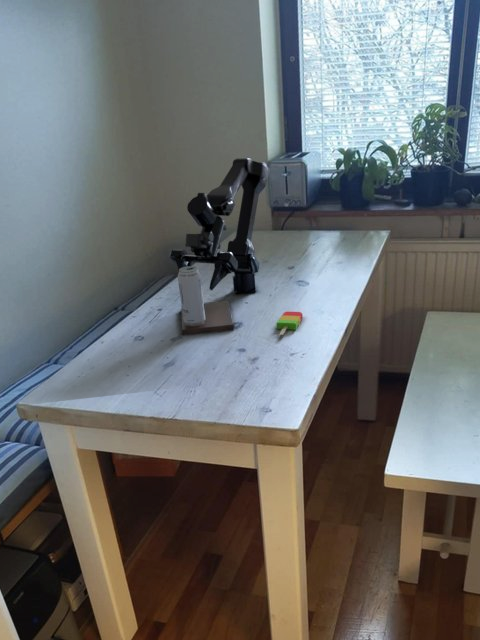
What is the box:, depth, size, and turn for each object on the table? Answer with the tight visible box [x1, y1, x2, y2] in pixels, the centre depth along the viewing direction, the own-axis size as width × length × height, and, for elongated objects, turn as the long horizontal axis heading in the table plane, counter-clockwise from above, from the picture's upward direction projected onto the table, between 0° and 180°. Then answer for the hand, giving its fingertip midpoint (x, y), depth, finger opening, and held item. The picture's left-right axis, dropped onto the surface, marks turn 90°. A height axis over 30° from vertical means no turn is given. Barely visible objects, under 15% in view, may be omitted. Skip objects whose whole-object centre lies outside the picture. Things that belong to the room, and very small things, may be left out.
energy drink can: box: [177, 265, 205, 326], centre depth 163 cm, size 6×6×15 cm
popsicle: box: [275, 311, 303, 336], centre depth 164 cm, size 6×15×2 cm, turn 164°
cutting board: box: [180, 300, 235, 336], centre depth 173 cm, size 14×20×2 cm
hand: (195, 288), depth 165 cm, fingers open, 9 cm apart
